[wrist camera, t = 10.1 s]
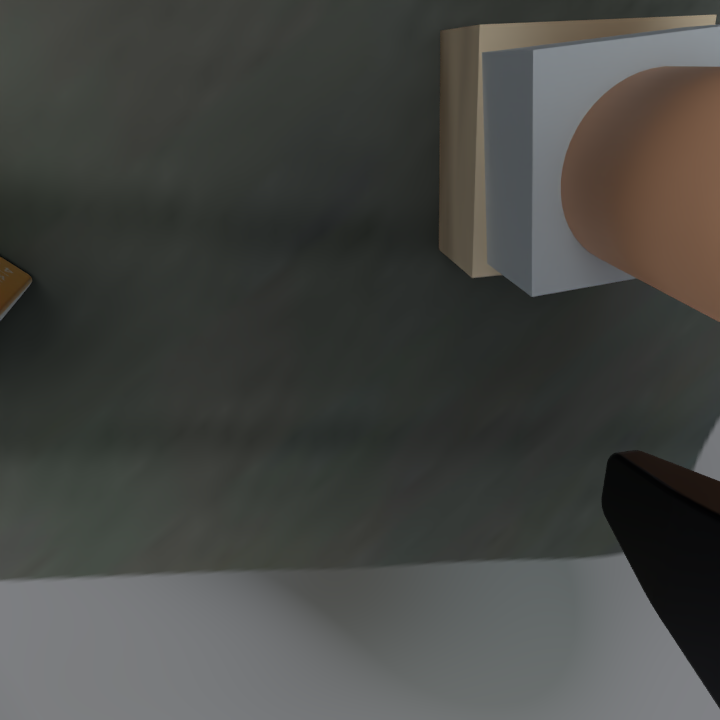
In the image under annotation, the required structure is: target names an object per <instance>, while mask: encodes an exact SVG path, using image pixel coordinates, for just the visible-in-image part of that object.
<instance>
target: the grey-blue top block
mask: <svg viewBox="0 0 720 720" xmlns="http://www.w3.org/2000/svg"><path fill="white" fill-rule="evenodd" d="M663 66H698V67H720V24H717V25H705V26H693V27H681V28H673V29H665V30H657V31H649V32H641V33H633V34H625V35H617V36H609V37H601V38H594V39H586V40H578V41H570V42H562V43H554V44H546V45H538V46H530V47H522V48H514V49H506V50H498V51H490V52H482V78H483V117H484V156H485V196H486V235H487V264H489V265H490V266H491V267H493V268H494V269H495V270H497V271H498V272H499V273H501V274H502V275H503V276H505V277H506V278H507V279H509V280H510V281H511V282H513V283H514V284H515V285H517V286H518V287H519V288H521V289H522V290H523V291H525V292H526V293H527V294H529V295H530V296H531V297H534V296H540V295H546V294H551V293H557V292H563V291H568V290H574V289H580V288H585V287H591V286H597V285H602V284H608V283H614V282H619V281H625V280H631V279H636V278H635V277H633V276H631V275H629V274H628V273H626V272H624V271H622V270H620V269H618V268H616V267H614V266H612V265H611V264H609V263H607V262H605V261H603V260H601V259H599V258H598V257H596V256H594V255H593V254H591V253H590V252H588V251H587V250H586V249H585V248H584V247H583V246H582V245H581V244H580V243H579V242H578V241H577V239H576V238H575V237H574V235H573V233H572V232H571V230H570V228H569V226H568V224H567V221H566V219H565V215H564V211H563V208H562V201H561V175H562V168H563V163H564V159H565V155H566V152H567V149H568V147H569V144H570V141H571V139H572V137H573V135H574V133H575V131H576V129H577V127H578V126H579V124H580V122H581V121H582V119H583V118H584V116H585V115H586V114H587V112H588V111H589V110H590V109H591V107H592V106H593V105H594V104H595V103H596V102H597V101H598V100H599V99H600V98H601V97H602V96H603V95H604V94H605V93H606V92H607V91H609V90H610V89H611V88H612V87H614V86H615V85H616V84H618V83H619V82H621V81H623V80H624V79H626V78H628V77H630V76H632V75H634V74H636V73H639V72H641V71H645V70H648V69H651V68H657V67H663Z"/></svg>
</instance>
